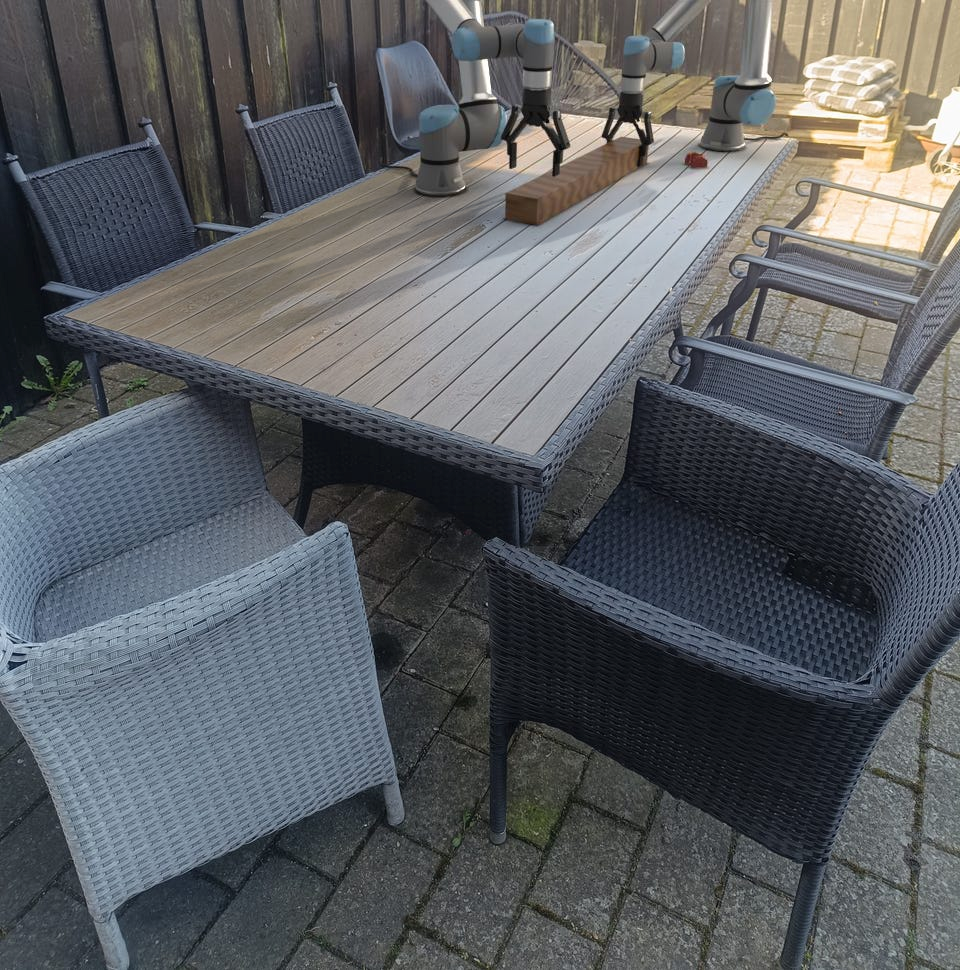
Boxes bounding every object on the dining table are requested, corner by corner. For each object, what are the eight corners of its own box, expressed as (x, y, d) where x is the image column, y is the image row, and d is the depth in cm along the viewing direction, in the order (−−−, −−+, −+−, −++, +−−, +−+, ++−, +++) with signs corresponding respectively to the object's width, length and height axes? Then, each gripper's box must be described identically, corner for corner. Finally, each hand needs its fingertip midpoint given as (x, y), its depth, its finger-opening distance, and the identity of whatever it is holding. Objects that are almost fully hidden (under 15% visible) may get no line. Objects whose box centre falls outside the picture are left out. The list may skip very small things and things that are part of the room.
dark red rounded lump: (699, 148, 281) (710, 154, 275) (697, 161, 284) (708, 168, 277) (683, 150, 280) (694, 156, 274) (682, 163, 283) (692, 170, 276)
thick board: (536, 225, 232) (537, 198, 227) (505, 219, 236) (505, 192, 232) (646, 163, 283) (649, 140, 278) (619, 158, 287) (621, 136, 283)
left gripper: (586, 90, 216) (580, 175, 228) (503, 80, 227) (502, 161, 239) (572, 95, 211) (567, 182, 223) (488, 84, 222) (488, 167, 234)
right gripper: (670, 93, 265) (661, 166, 278) (604, 85, 275) (599, 156, 288) (660, 97, 260) (652, 171, 273) (594, 89, 270) (589, 161, 283)
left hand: (533, 171), depth 231 cm, fingers open, 13 cm apart
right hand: (624, 163), depth 280 cm, fingers closed on thick board, 10 cm apart
